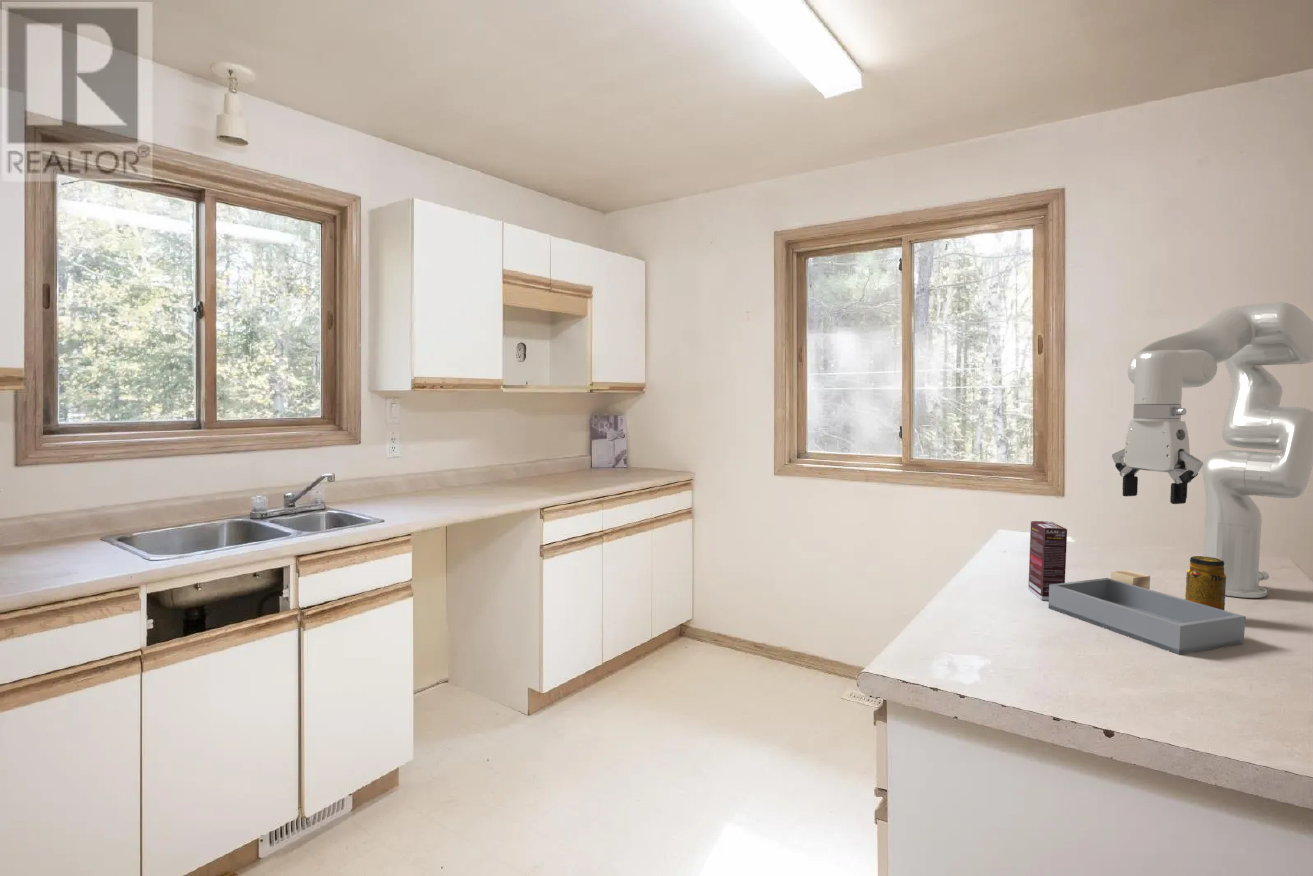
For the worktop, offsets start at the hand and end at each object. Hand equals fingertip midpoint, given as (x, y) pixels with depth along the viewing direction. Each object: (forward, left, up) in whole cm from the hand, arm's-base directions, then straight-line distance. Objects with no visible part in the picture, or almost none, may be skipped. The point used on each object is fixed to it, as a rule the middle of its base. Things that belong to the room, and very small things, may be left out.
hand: (1153, 499), depth 132 cm
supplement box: (+8, -17, -24) cm, 30 cm away
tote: (+7, +3, -24) cm, 25 cm away
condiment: (-9, +5, -24) cm, 26 cm away
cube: (-9, -11, -24) cm, 27 cm away
